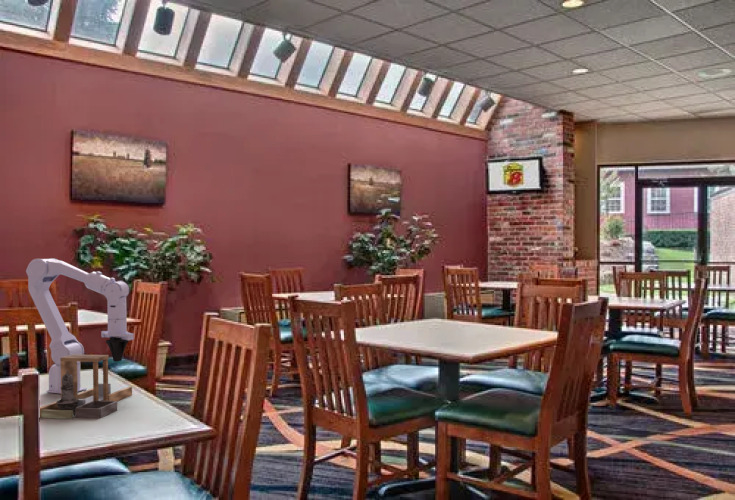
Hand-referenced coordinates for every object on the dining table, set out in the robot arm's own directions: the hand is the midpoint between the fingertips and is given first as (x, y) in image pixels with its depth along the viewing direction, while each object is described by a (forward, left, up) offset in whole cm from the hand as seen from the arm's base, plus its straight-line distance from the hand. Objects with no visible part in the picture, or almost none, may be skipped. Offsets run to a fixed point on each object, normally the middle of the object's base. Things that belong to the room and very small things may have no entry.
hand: (117, 361), depth 212 cm
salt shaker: (+9, -27, -10) cm, 30 cm away
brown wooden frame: (+9, -17, -10) cm, 22 cm away
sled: (+6, -17, -10) cm, 20 cm away
